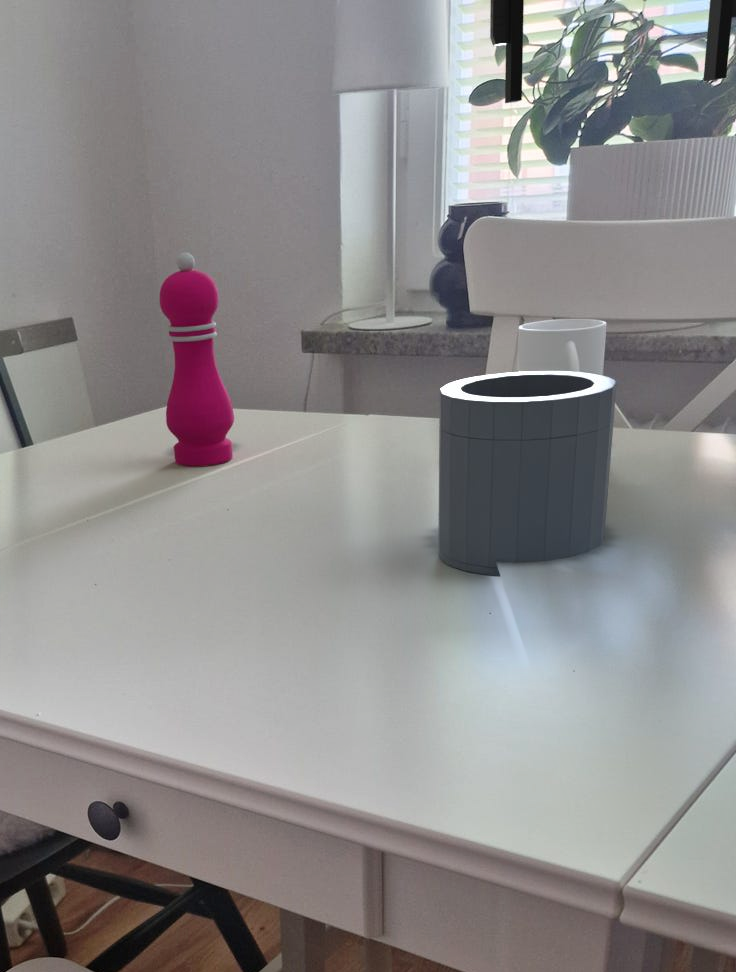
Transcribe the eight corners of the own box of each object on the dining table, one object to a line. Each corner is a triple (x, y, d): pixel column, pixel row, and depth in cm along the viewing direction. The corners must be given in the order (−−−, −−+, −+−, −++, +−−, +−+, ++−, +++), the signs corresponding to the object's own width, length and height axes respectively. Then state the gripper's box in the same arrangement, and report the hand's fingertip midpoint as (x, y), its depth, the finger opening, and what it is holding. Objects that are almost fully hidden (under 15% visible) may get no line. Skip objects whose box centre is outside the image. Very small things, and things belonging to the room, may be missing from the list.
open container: (587, 526, 94) (599, 366, 87) (616, 572, 83) (631, 395, 77) (434, 533, 95) (435, 377, 89) (443, 580, 84) (445, 406, 78)
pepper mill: (204, 470, 121) (184, 255, 111) (156, 464, 125) (133, 256, 115) (251, 456, 125) (236, 248, 115) (203, 450, 130) (185, 249, 120)
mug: (609, 471, 108) (620, 332, 102) (516, 475, 109) (521, 338, 103) (593, 444, 118) (603, 315, 112) (508, 448, 119) (512, 321, 113)
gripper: (430, -326, 67) (435, 108, 78) (879, -389, 65) (821, 66, 76) (420, -282, 74) (426, 113, 84) (827, -338, 72) (781, 74, 82)
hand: (613, 91), depth 80 cm, fingers open, 13 cm apart
